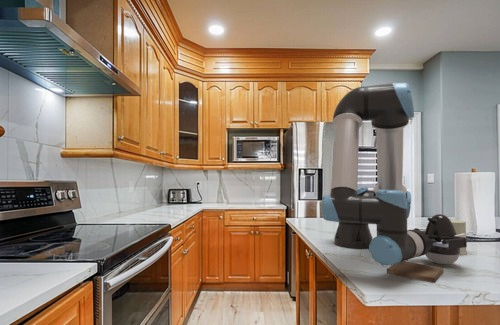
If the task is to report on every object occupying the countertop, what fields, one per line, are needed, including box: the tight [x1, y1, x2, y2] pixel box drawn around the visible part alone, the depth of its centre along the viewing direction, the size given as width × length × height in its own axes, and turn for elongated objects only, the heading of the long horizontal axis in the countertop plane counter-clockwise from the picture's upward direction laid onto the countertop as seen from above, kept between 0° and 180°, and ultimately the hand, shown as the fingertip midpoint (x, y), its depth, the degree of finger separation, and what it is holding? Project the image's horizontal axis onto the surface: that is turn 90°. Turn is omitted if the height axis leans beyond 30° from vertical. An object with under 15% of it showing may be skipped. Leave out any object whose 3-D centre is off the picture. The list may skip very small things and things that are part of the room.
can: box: [449, 218, 468, 256], centre depth 111 cm, size 9×9×12 cm
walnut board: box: [386, 261, 444, 284], centre depth 87 cm, size 12×12×1 cm
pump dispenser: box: [424, 213, 460, 265], centre depth 96 cm, size 10×10×15 cm
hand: (446, 235), depth 98 cm, fingers closed on pump dispenser, 9 cm apart
